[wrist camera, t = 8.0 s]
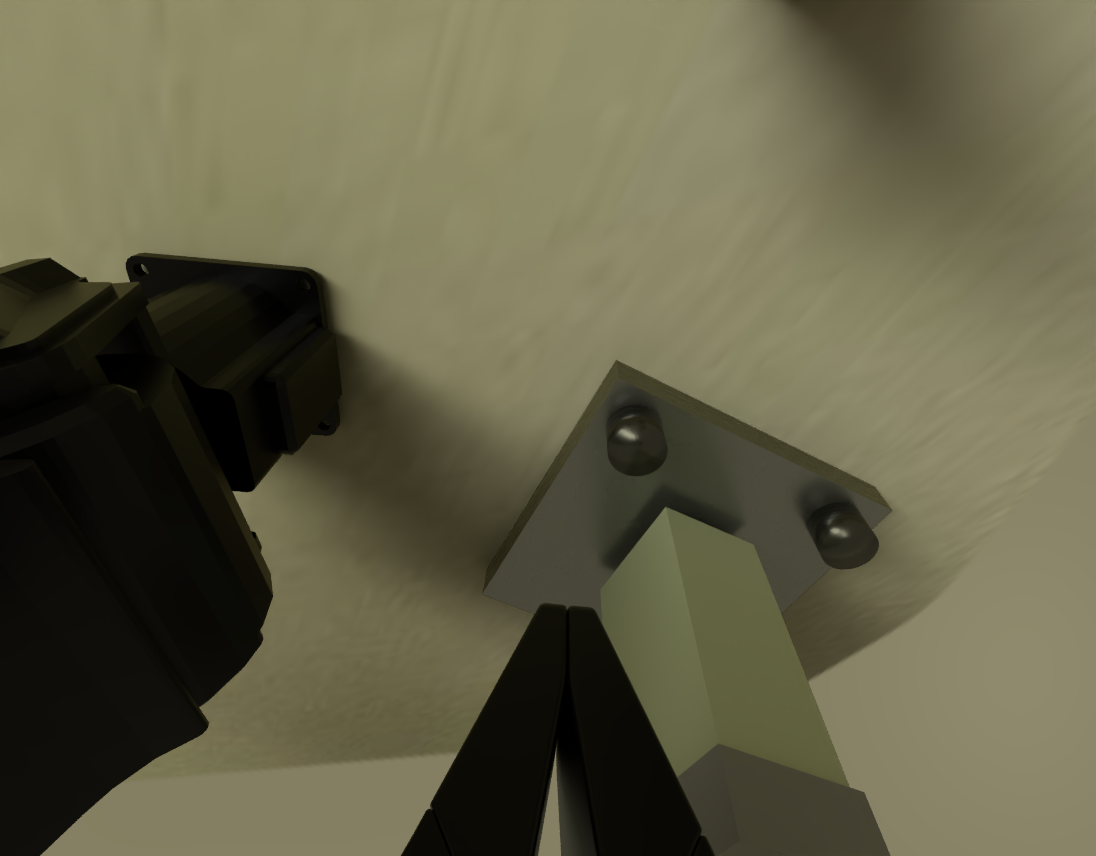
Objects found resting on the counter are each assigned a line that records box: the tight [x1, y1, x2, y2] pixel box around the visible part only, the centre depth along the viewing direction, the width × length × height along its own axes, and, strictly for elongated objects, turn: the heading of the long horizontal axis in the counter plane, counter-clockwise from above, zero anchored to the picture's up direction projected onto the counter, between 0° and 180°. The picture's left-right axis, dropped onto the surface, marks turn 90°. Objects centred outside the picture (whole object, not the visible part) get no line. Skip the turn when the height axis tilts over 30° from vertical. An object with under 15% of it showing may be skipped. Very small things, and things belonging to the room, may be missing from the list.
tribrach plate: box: [482, 360, 892, 622], centre depth 23 cm, size 12×12×3 cm
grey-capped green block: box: [600, 507, 890, 856], centre depth 17 cm, size 4×5×12 cm
